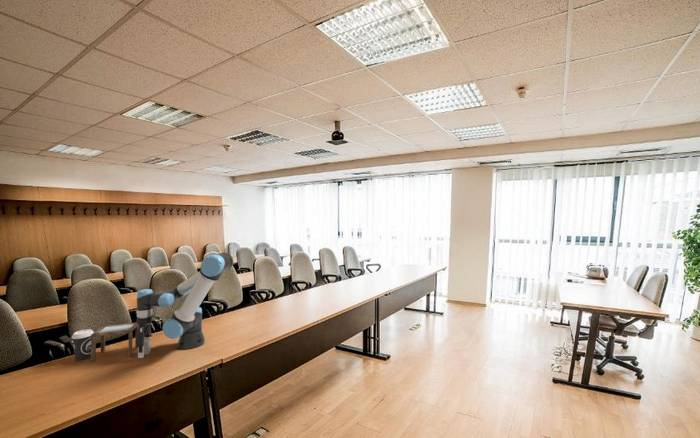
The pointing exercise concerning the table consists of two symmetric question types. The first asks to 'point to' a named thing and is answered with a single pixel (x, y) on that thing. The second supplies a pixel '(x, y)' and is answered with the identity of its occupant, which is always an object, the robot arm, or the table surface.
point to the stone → (147, 346)
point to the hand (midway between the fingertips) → (144, 352)
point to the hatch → (116, 328)
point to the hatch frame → (96, 333)
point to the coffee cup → (82, 344)
